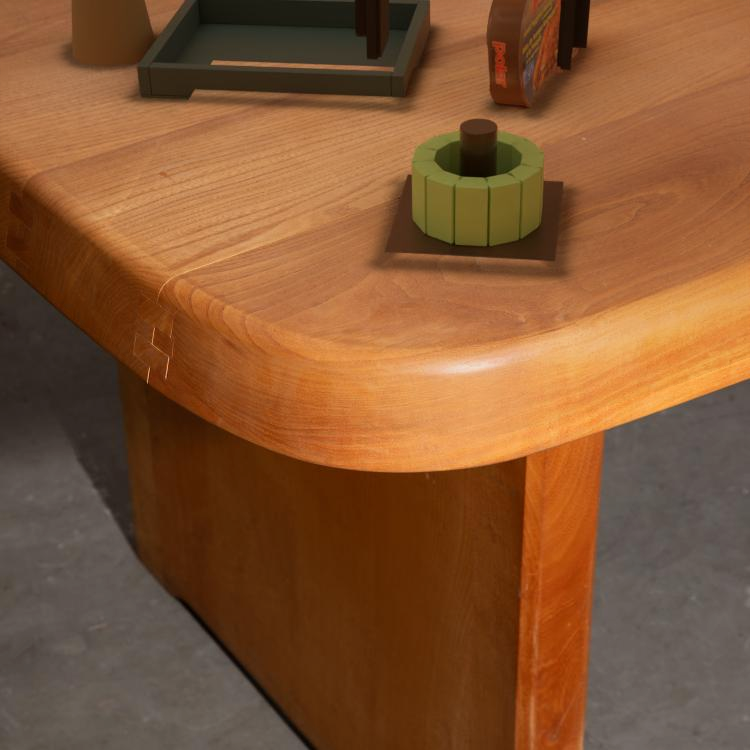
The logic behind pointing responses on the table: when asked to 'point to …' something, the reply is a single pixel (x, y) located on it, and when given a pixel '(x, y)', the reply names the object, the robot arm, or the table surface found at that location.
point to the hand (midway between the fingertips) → (470, 54)
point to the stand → (480, 163)
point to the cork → (110, 31)
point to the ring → (477, 192)
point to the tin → (522, 48)
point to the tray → (281, 48)
